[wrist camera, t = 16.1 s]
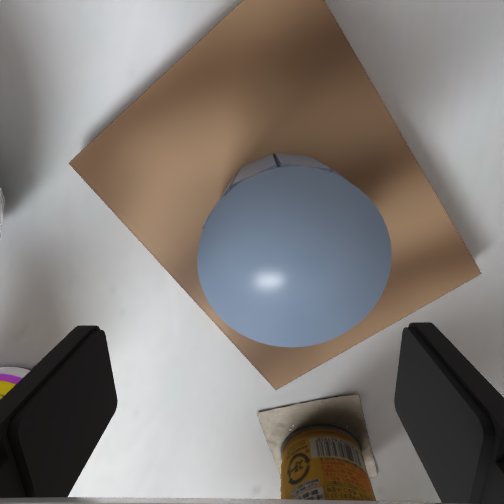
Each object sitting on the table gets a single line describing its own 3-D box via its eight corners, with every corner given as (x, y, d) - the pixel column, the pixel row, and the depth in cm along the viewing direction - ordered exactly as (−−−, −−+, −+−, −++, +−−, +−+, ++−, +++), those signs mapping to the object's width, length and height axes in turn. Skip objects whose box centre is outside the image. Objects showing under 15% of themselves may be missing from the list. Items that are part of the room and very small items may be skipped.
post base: (469, 265, 19) (546, 317, 14) (275, 377, 23) (278, 453, 17) (293, -36, 15) (311, -129, 9) (80, 160, 18) (4, 175, 13)
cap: (269, 124, 16) (273, 122, 10) (378, 208, 17) (434, 247, 12) (193, 236, 18) (161, 285, 12) (294, 303, 19) (307, 375, 14)
